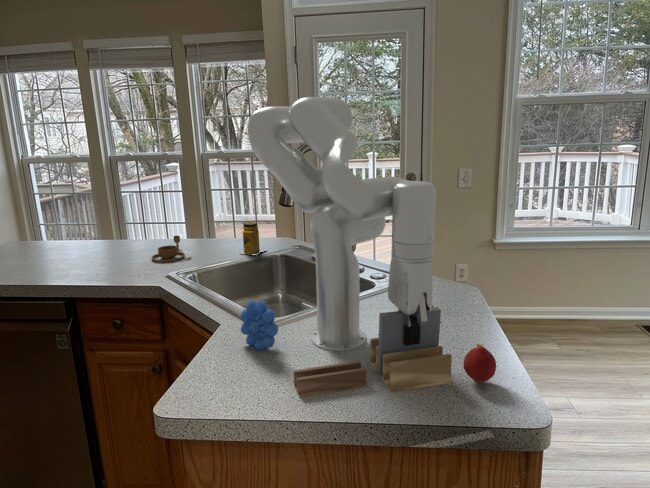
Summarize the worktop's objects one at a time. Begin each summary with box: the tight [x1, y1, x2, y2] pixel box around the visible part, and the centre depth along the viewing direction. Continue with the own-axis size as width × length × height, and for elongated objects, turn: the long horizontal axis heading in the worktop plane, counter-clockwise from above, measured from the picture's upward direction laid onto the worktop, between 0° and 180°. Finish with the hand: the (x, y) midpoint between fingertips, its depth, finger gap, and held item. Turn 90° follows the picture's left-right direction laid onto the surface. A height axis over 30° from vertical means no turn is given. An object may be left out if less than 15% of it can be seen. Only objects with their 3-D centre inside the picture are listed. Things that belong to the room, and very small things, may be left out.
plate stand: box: [292, 360, 369, 399], centre depth 87 cm, size 6×13×4 cm, turn 105°
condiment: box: [242, 221, 261, 256], centre depth 180 cm, size 7×8×12 cm
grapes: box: [240, 300, 279, 351], centre depth 101 cm, size 12×7×12 cm, turn 47°
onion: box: [462, 343, 497, 384], centre depth 87 cm, size 6×6×8 cm
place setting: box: [151, 235, 192, 264], centre depth 178 cm, size 18×20×6 cm
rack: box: [368, 337, 453, 393], centre depth 90 cm, size 12×12×6 cm
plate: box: [378, 306, 442, 374], centre depth 89 cm, size 1×12×12 cm, turn 105°
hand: (408, 340), depth 89 cm, fingers closed
